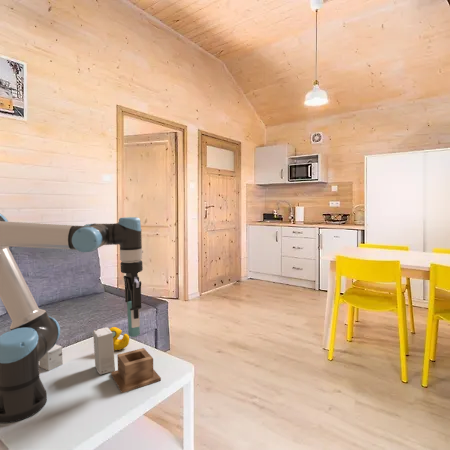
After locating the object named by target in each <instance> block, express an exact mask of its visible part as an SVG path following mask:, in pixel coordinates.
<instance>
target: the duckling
mask: <svg viewBox="0 0 450 450" xmlns="http://www.w3.org/2000/svg"><path fill="white" fill-rule="evenodd" d="M109 329H110V330H111V332H112V333H113V347H114V352H116V351H120V350H122V349H125V348H126V347H128V346H129V344H130V336H128V333H124V334H123V336H122V338H121V339H120V336H121V334H122V331H123V330H122V329H120V328H118V327H116V326H113V327H110V328H109Z"/></svg>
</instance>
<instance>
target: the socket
mask: <svg viewBox="0 0 450 450" xmlns="http://www.w3.org/2000/svg"><path fill="white" fill-rule="evenodd" d="M116 355H117V370H115V371H112V372H110V375H111V377H112V379H113V381H114V382H115V384H116V386H117V387H118V389H119V391H120V393H122V394H123V393H126V392H130V391H133V390H136V389H138V388H141V387H145V386H149V385H151V384H154V383H157V382H160V381H162V377H160V375H159V374H158V373H157V371H156V370H155V369H154V358H153V356H152V355H151V354H150V353H149V352H148V351H147V350H146V348H144V347H142V348H139V349H134V350H130V351H126V352H122V353H118V354H116Z"/></svg>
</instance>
